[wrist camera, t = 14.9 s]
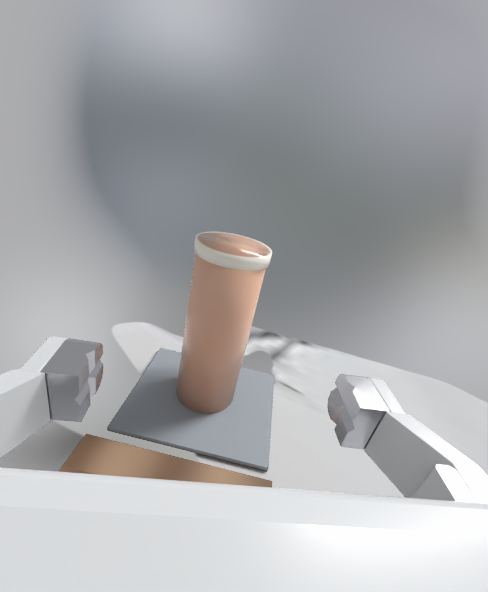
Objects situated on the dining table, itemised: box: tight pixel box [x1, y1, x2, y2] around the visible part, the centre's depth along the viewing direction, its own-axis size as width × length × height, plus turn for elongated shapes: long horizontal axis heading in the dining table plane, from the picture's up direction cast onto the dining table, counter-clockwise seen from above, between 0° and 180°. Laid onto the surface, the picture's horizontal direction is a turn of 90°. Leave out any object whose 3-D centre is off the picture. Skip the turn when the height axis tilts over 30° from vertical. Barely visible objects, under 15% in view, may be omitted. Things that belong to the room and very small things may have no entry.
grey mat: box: [107, 348, 274, 471], centre depth 31 cm, size 14×12×1 cm
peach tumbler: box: [176, 232, 272, 413], centre depth 30 cm, size 9×6×16 cm
